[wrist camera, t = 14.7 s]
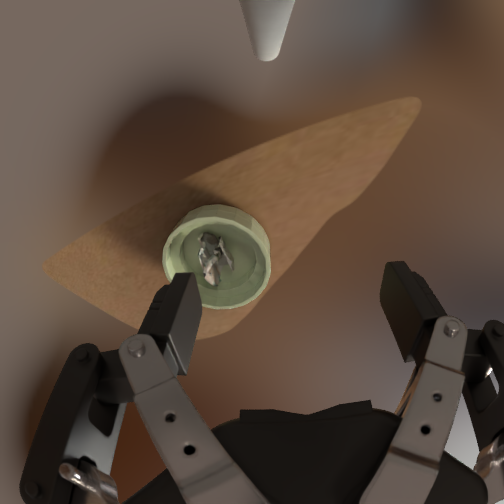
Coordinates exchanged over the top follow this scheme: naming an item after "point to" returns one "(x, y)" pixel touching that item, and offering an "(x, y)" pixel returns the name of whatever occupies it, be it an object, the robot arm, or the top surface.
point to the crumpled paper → (213, 257)
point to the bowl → (237, 242)
